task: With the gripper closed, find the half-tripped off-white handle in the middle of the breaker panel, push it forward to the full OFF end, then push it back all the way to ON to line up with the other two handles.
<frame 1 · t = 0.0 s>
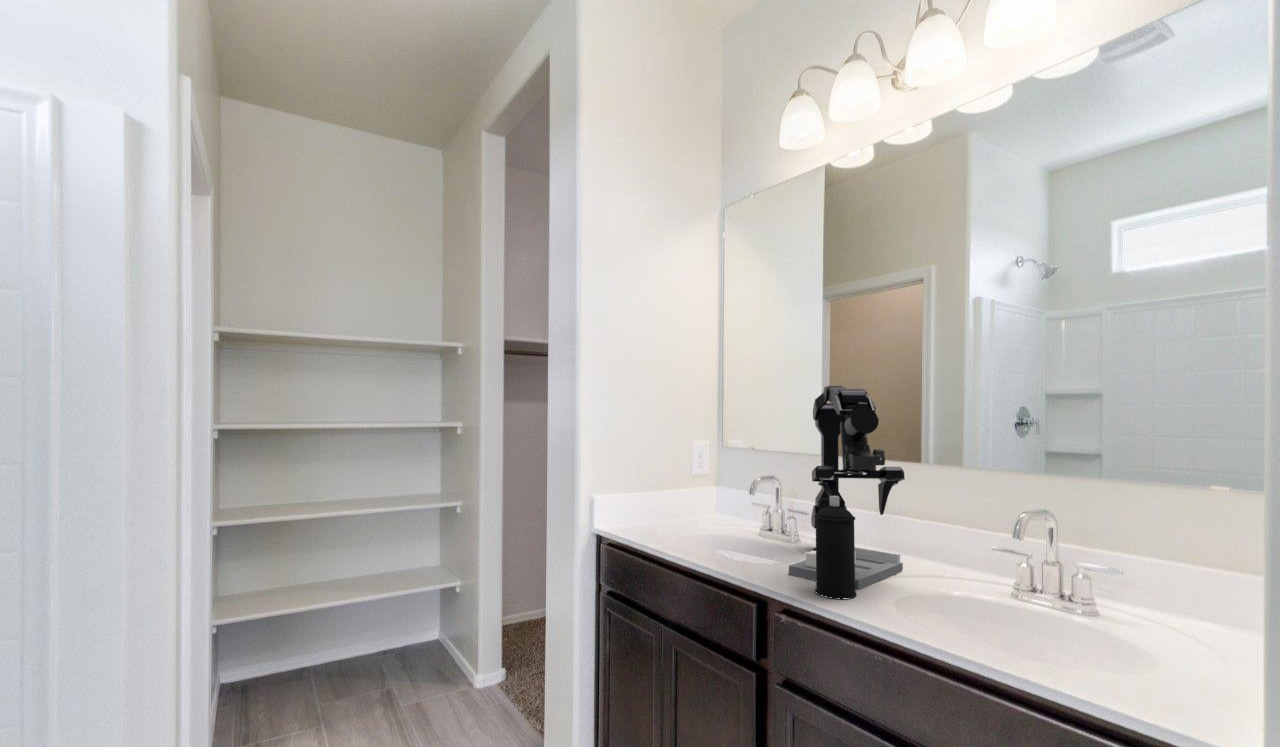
hand: (859, 514, 136), 15 cm above the worktop, tool pointing down, fingers open, 9 cm apart
aerosol can: (835, 594, 131), on the worktop
breaker tripped: (846, 557, 147), point 4 cm above the worktop, slide at 4.0 cm
breaker panel: (846, 572, 147), on the worktop
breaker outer: (815, 559, 145), point 4 cm above the worktop, slide at 0.0 cm
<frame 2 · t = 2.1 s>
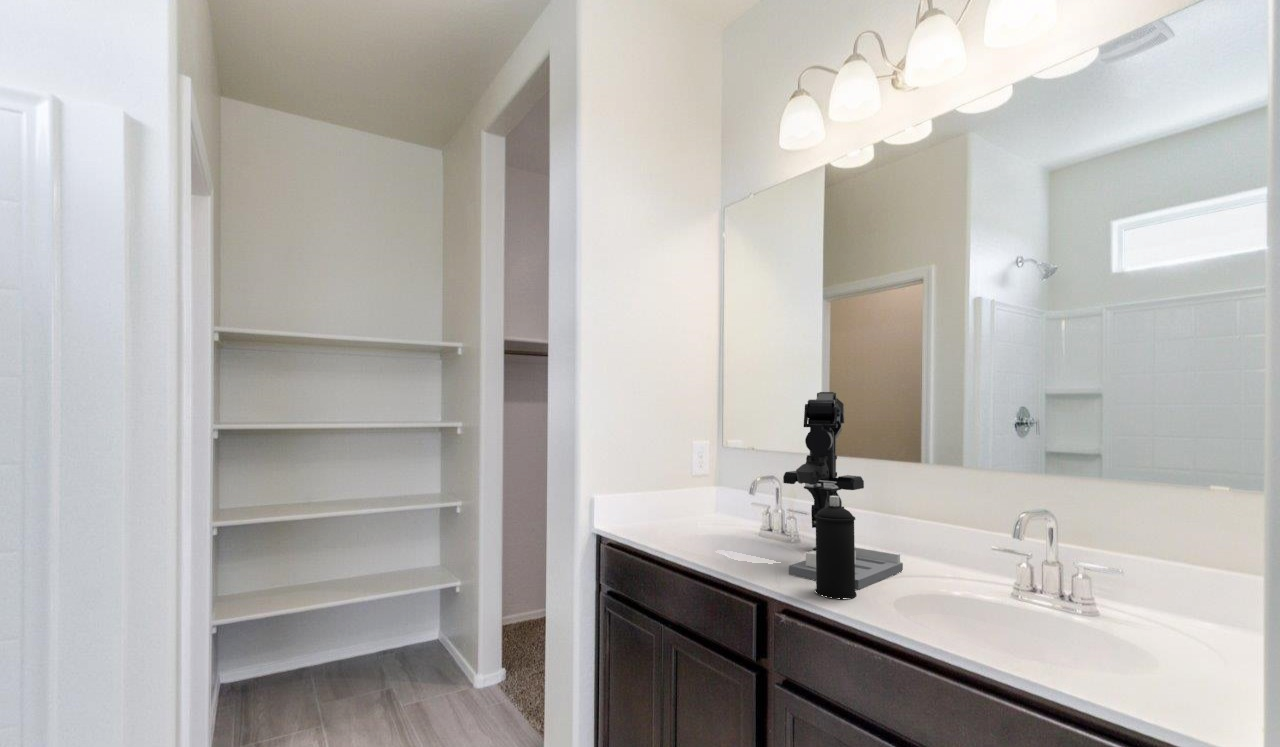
hand: (822, 516, 152), 12 cm above the worktop, tool pointing down, fingers closed
nothing on the worktop moved.
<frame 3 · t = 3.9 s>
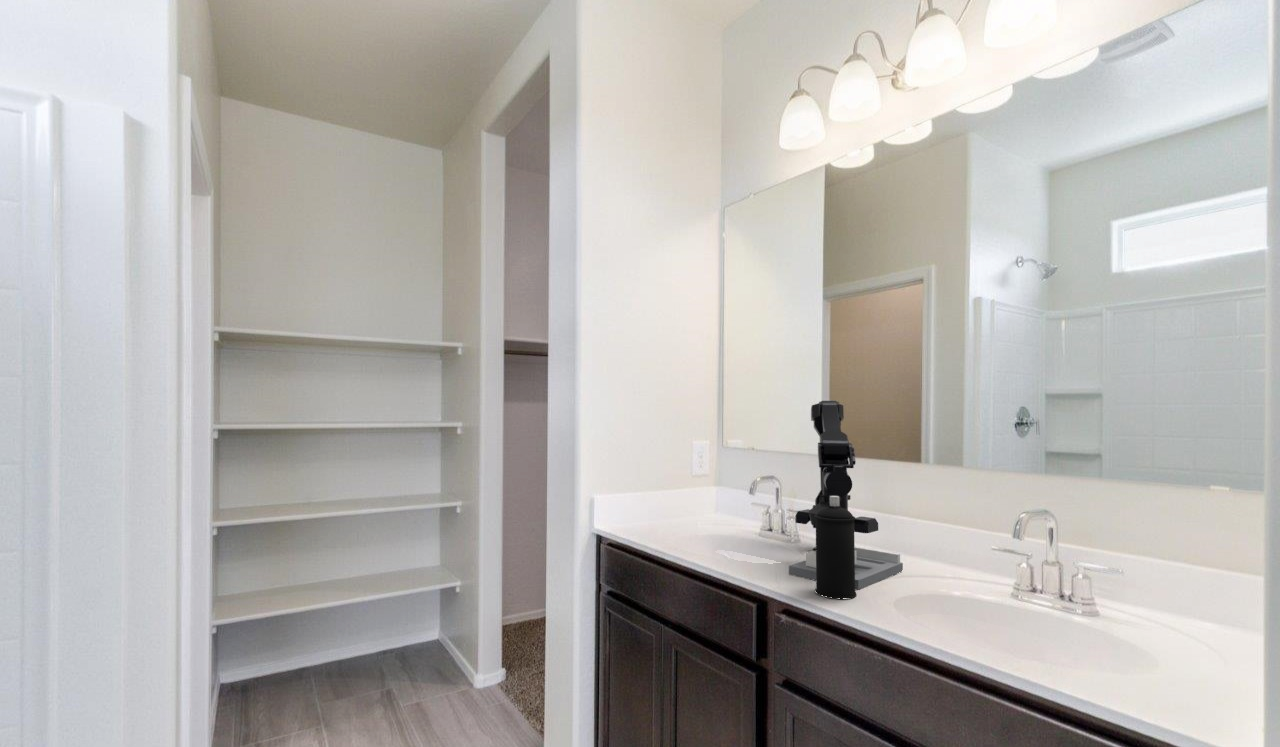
hand: (835, 557, 149), 3 cm above the worktop, tool pointing down, fingers closed
breaker tripped: (847, 557, 147), point 4 cm above the worktop, slide at 4.2 cm, touching gripper
everything else where it was.
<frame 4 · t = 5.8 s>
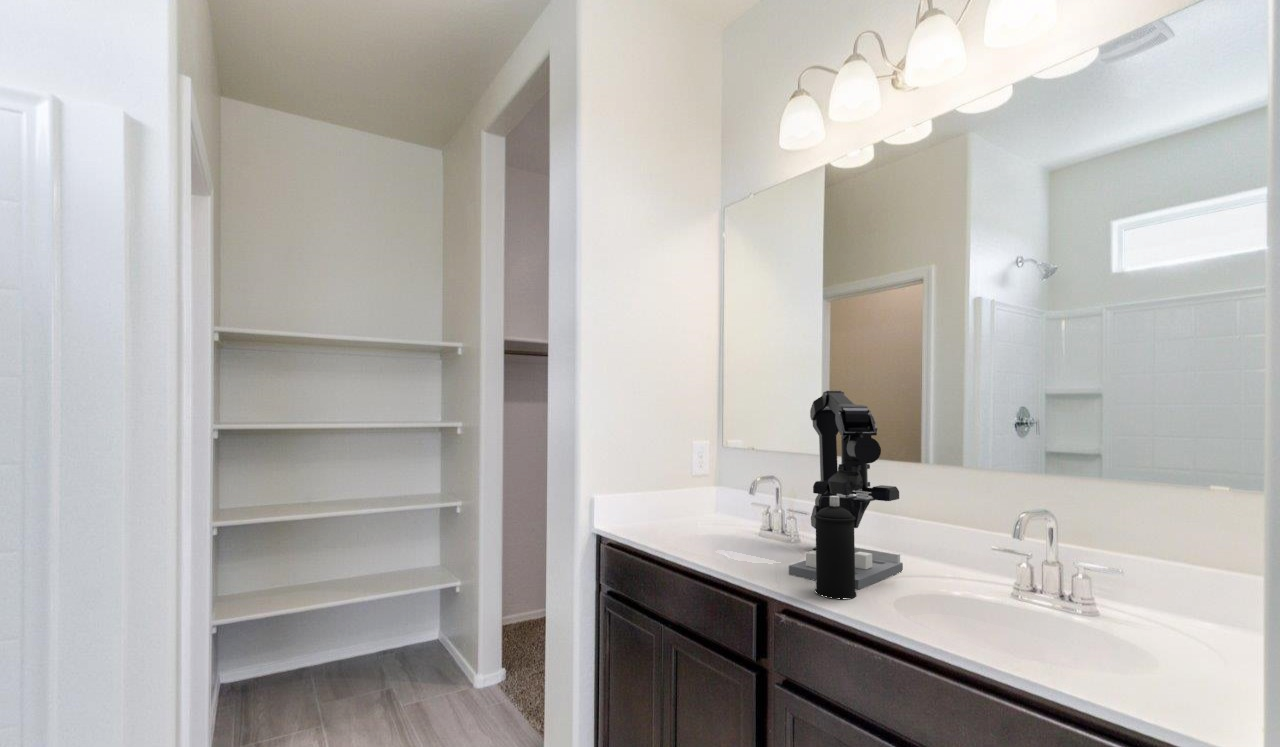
hand: (855, 527, 146), 11 cm above the worktop, tool pointing down, fingers closed
breaker tripped: (862, 560, 144), point 4 cm above the worktop, slide at 8.1 cm
everything else where it was.
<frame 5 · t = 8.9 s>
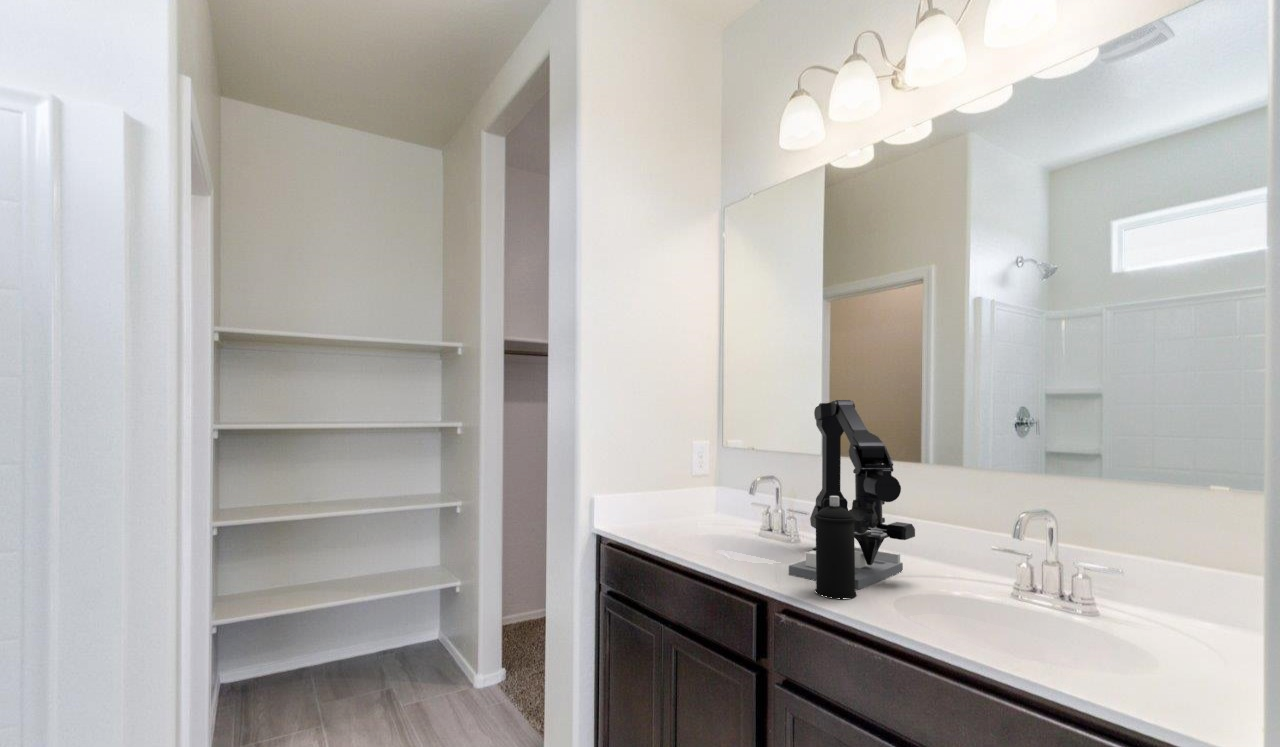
hand: (869, 564, 143), 3 cm above the worktop, tool pointing down, fingers closed
breaker tripped: (857, 559, 145), point 4 cm above the worktop, slide at 6.7 cm, touching gripper
everything else where it was.
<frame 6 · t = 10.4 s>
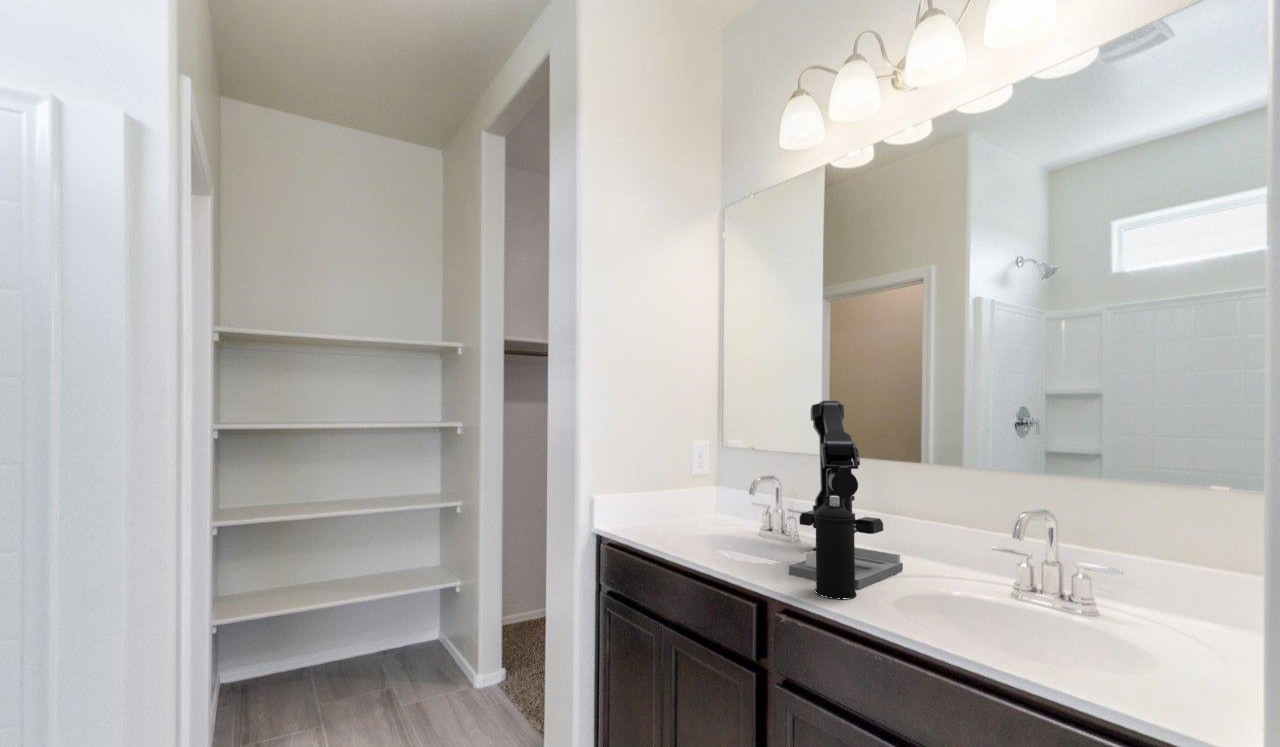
hand: (841, 558, 148), 3 cm above the worktop, tool pointing down, fingers closed
breaker tripped: (830, 554, 150), point 4 cm above the worktop, slide at -0.2 cm, touching gripper
everything else where it was.
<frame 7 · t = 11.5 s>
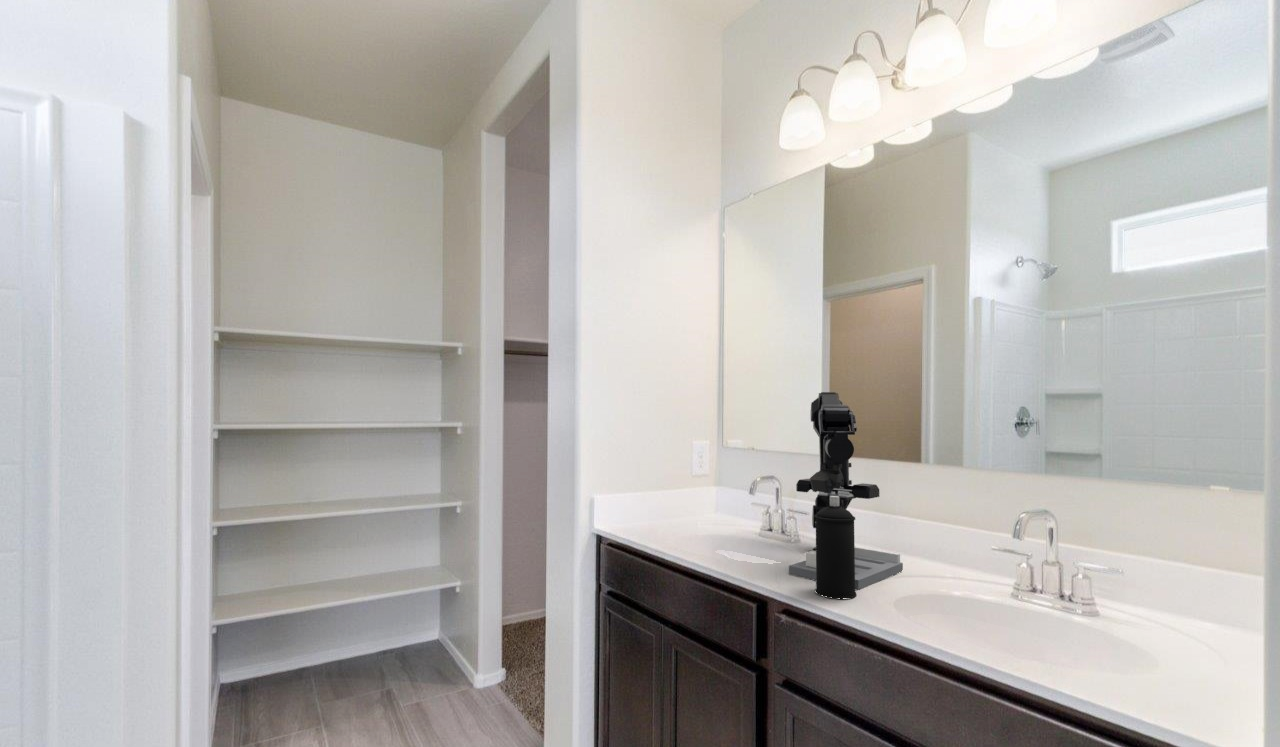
hand: (837, 525, 149), 11 cm above the worktop, tool pointing down, fingers closed
breaker tripped: (830, 554, 150), point 4 cm above the worktop, slide at -0.1 cm
everything else where it was.
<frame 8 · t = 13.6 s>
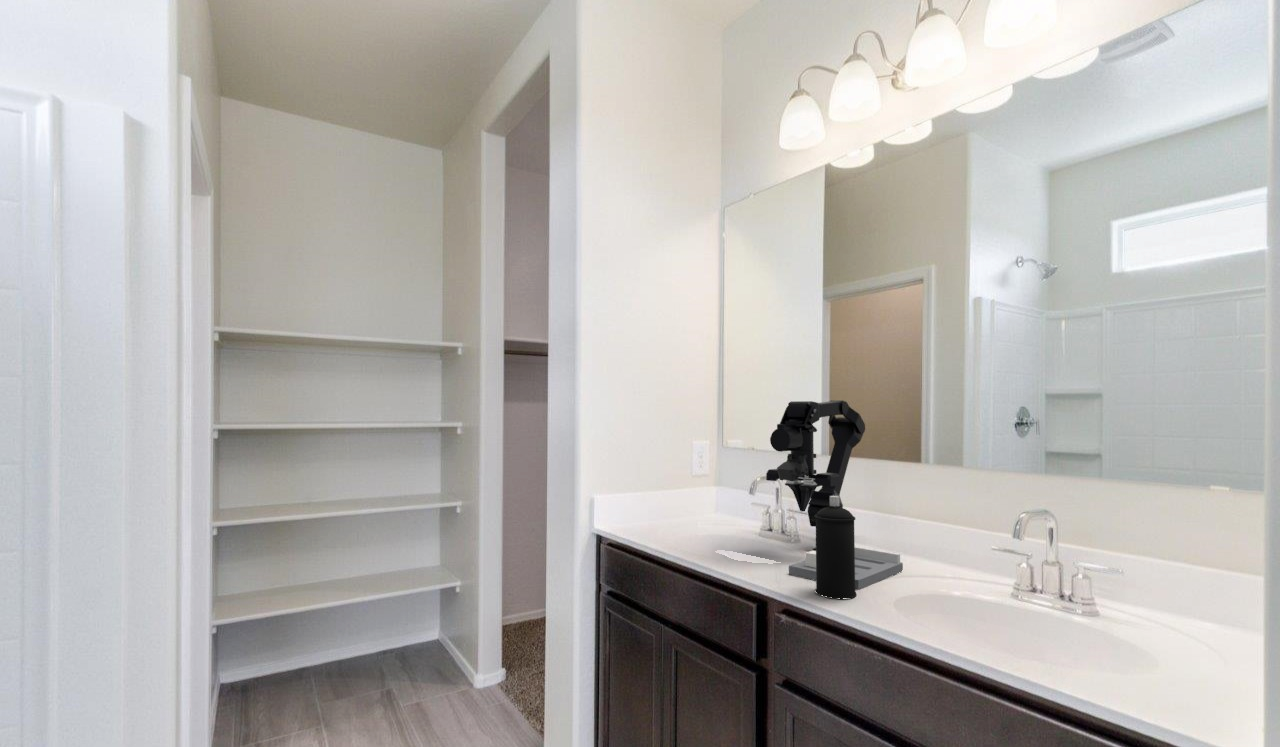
hand: (802, 511, 162), 12 cm above the worktop, tool pointing down, fingers closed
nothing on the worktop moved.
at the end: breaker tripped slide at -0.1 cm; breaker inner slide at 0.0 cm; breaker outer slide at 0.0 cm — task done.
